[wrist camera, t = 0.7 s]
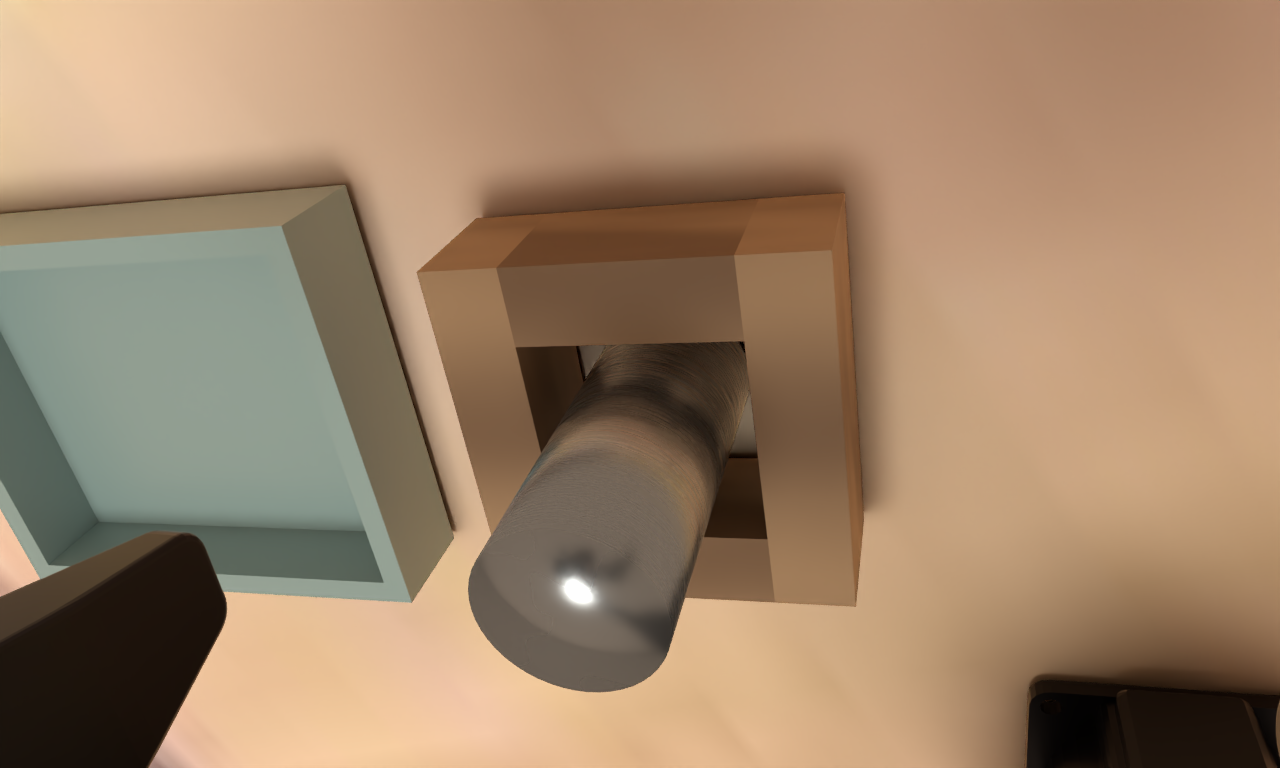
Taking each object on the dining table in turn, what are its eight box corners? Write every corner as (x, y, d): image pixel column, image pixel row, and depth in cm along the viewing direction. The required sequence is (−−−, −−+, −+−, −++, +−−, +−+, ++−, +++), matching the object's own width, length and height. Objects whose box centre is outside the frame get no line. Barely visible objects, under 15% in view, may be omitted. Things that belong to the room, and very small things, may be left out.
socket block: (863, 519, 23) (855, 606, 20) (548, 511, 25) (506, 588, 23) (844, 192, 19) (832, 250, 17) (476, 218, 21) (416, 272, 19)
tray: (453, 537, 27) (411, 602, 24) (105, 525, 30) (41, 580, 28) (345, 184, 22) (281, 225, 20) (-53, 218, 25) (-145, 256, 23)
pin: (757, 436, 22) (684, 700, 16) (618, 435, 23) (494, 683, 17) (741, 302, 21) (654, 533, 14) (592, 308, 22) (445, 526, 15)
